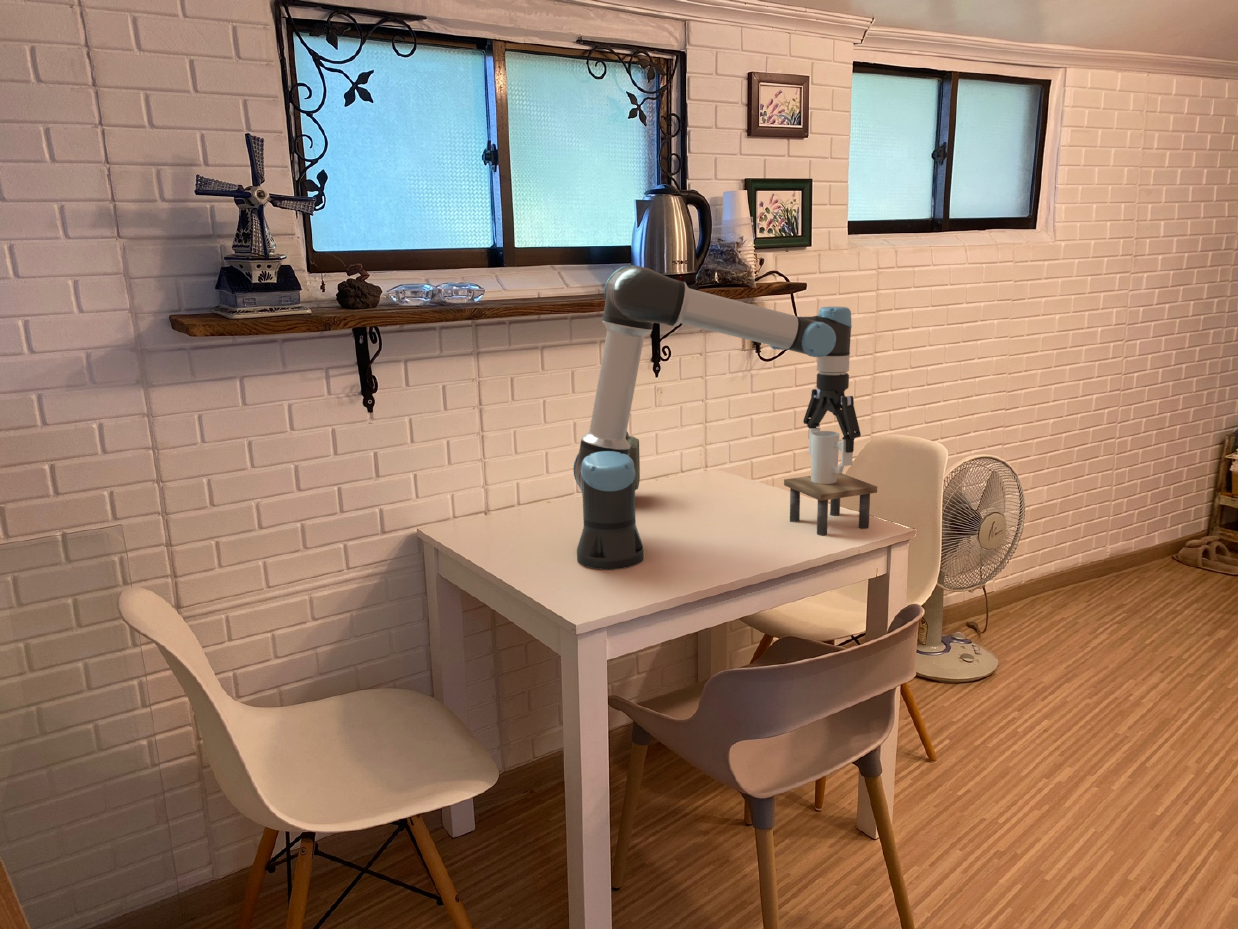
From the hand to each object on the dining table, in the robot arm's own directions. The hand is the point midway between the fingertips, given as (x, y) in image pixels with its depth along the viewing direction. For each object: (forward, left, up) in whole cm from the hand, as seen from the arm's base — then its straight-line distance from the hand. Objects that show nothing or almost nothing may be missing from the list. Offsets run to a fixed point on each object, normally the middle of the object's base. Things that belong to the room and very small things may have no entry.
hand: (829, 459), depth 224 cm
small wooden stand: (0, 0, -16) cm, 16 cm away
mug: (0, 0, -6) cm, 6 cm away
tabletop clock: (-38, +42, -17) cm, 59 cm away
